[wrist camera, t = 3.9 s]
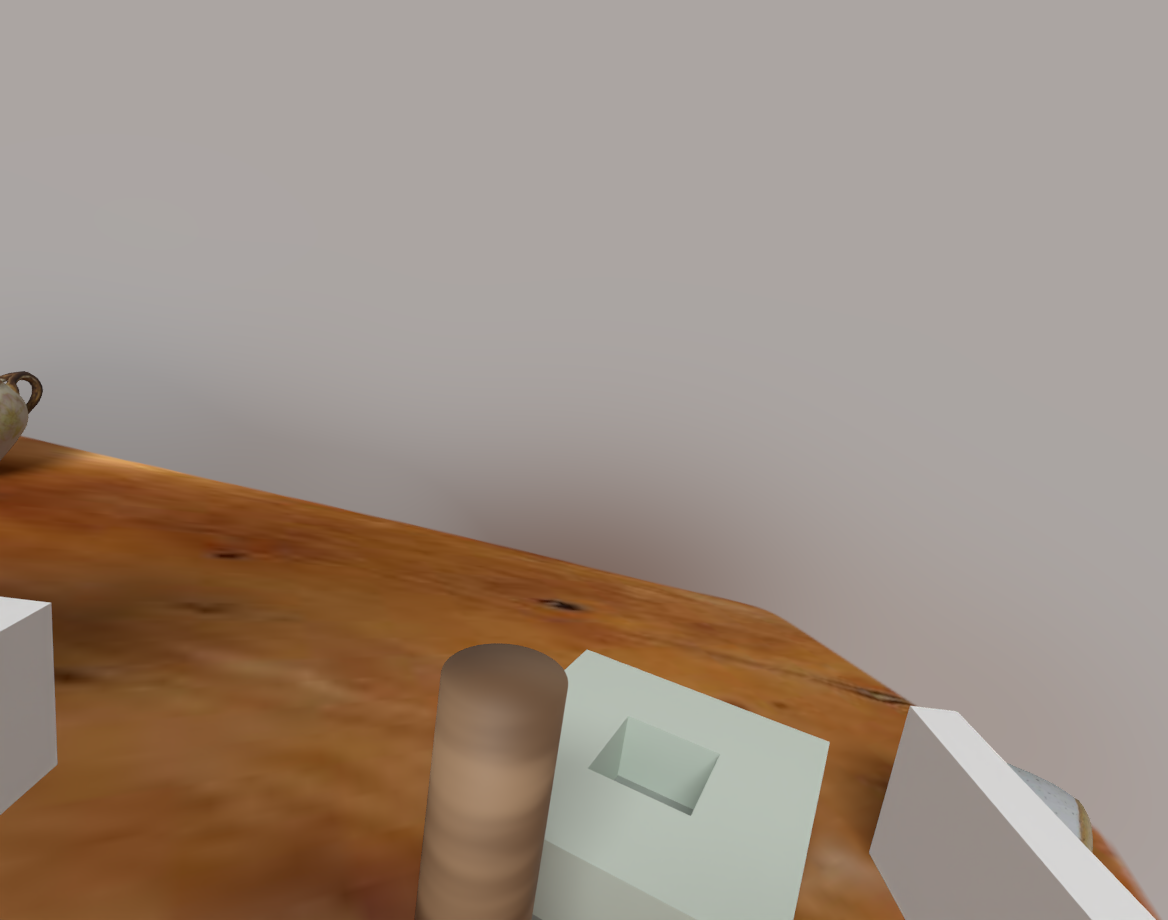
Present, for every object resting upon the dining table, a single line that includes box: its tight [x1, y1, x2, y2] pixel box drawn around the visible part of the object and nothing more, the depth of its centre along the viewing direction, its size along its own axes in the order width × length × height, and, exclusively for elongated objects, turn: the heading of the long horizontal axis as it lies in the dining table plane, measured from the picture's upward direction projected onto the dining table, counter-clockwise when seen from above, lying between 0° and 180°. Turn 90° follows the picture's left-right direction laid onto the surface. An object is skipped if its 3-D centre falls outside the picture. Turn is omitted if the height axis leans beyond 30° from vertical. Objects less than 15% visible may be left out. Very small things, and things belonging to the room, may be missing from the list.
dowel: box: [415, 644, 568, 920], centre depth 23 cm, size 4×4×16 cm
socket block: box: [532, 650, 830, 920], centre depth 36 cm, size 16×16×5 cm
